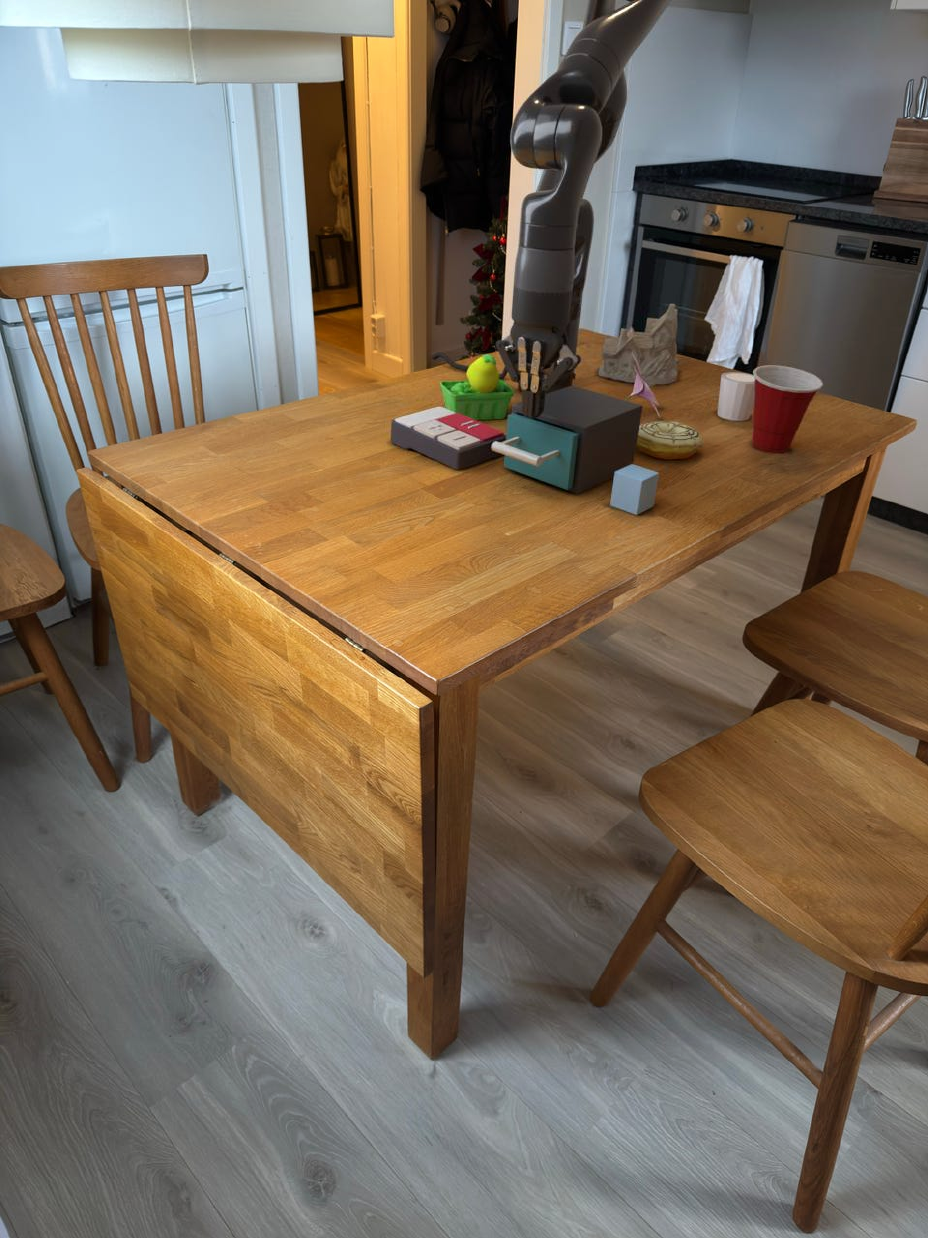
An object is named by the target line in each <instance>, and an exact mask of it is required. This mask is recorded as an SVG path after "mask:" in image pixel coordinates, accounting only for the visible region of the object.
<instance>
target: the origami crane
mask: <svg viewBox="0 0 928 1238" xmlns="http://www.w3.org/2000/svg"><path fill="white" fill-rule="evenodd" d="M632 354H633V353H632ZM633 356H634V355H633ZM634 358H635V357H634ZM635 361H636V363H637V366H638V371H639V375H638V373H637V370H636V368H635V367H634V366H633V367H634V369H635V371H636V373H637V376H636V381H635V383H634V386H633V390H632V393H630V394H629V396H627V397H626V398H625V399H624V400H625V401H628V400H630V398H632V397H633V396H636V397H639V398H642V399H644V400H646V401H647V402H649V403H650V404H651V405H652V407H653V408H654V410H655V411H656V413H657V416H658V417H659V418H661V415H660V414H659V411H658V408H657V407H656V405H657V406H658V407H659V408H661V406H660V404H659V401H658V400H657V398H656V396H655V393H654V392H653V390H652V389H650V388H654V386H656V384H655V383H654V384H646V383H645V382H644V381H643V380H642V378H641V370H640V367H639V364H638V362H637V360H636V358H635ZM651 382H652V381H651ZM655 404H656V405H655Z"/></svg>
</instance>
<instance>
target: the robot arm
mask: <svg viewBox="0 0 928 1238" xmlns="http://www.w3.org/2000/svg"><path fill="white" fill-rule="evenodd" d="M623 1H625V2H627V4H624V5H623V6H621V7H619V8H616V2H617V1H616V0H588V1H587V6H586V11H585V16H584V20H583V26H582V30H580V31H579V33H578V34H577V35H576V36H575V38H574V39H573V40H572V42H571V43H570V46H569V47H568V49H567V51H566V53H565V55H564V57H563V58H562V61H561V62H560V64H559V66H558V68H557V70H556V71H555V72H554V73H553V74H551V75H550V76H549V77H548V78H546V79H545V80H544V81H543V83H541V84H540V86H538V87H537V88H536V89H535V90H534V91H533V92H531V94H530V95H529V96H528V97H527V98H526V100H524V101H523V103H522V104H521V106H520V107H519V109H518V110H517V112H516V114H515V117H514V119H513V121H512V124H511V129H510V136H509V137H510V139H509V142H510V149H511V152H512V155H513V157H514V159H515V160H516V161H517V162H518V163H519V164H520V165H521V166H523V167H525V168H529V169H535V170H543V171H542V174H541V176H540V179H539V181H538V184H537V187H536V190H535V191H534V192H530V193H528V194H526V196H524V198H523V200H522V202H521V208H520V220H519V234H518V247H517V252H516V257H515V263H514V275H513V290H512V303H511V315H510V316H511V319H512V321H513V324H512V326H511V328H510V332H509V334H508V335H506V337H504V338H502V339H499V340H497V341H496V342H495V348H496V349H497V352H498V354H499V356H500V358H501V361H502V362H503V365H504V367H503V370H502V372H501V373H499V380H503V379H505V378H506V377H507V375H508V376H509V378H510V380H511V381H512V382H513V383H515V382H516V383H517V391H518V392H521V402H522V405H521V408H522V411H523V416H525V417H528V418H531V419H535V418H538V417H540V415H541V414H543V411H544V405H545V404H544V403H545V394H548V393H551V392H554V391H557V390H560V389H563V388H566V387H569V386H572V385H573V386H574V381H576V377H577V374H576V373H575V369H577V367H578V365H580V363H581V362H582V358H581V356H580V354H577V350H578V349H577V348H578V342H579V341H578V340H579V333H580V332H579V331H580V322H581V311H582V303H583V296H584V295H583V294H584V290H585V289H584V288H585V286H586V281H587V275H588V274H587V273H588V266H589V260H590V254H591V248H592V242H593V235H594V227H595V215H594V213H595V212H594V208H593V206H592V204H591V202H590V201H589V200H588V199H586V198H584V195H585V192H586V188H587V185H588V182H589V180H590V176H591V174H592V171H593V168H594V166H595V164H596V163H597V162H598V161H599V160H600V159H601V158H602V157H603V156H604V155H605V154H606V153H607V152H608V150H609V148H610V147H611V146H612V144H613V143H614V140H615V138H616V136H617V133H618V130H619V127H620V124H621V121H622V118H623V115H624V113H625V109H626V106H627V102H628V85H627V79H626V74H625V68H626V66H627V65H628V63H629V61H630V59H631V58H632V57H633V55H634V54H635V53H636V51H637V50H638V48H639V47H640V46H641V44H642V43H643V42H644V40H645V39H646V38H647V36H648V35H649V34H650V33H651V31H652V30H653V28H654V27H655V26H656V25H657V23H658V21H659V20H660V18H661V17H662V16H663V15H664V13H665V11H666V10H667V8H669V7H670V4H671V2H672V1H673V0H623ZM438 358H442V359H443V360H444V361H445V362H446V363H447V364H448V365H449V366H451V367H452V368H454V369H456V370H460V371H465V372H467V370H468V368H469V366H470V365H465V364H461V363H458V362H455V361H454V360H452V359H451V358H450V357H449V356H448V355H447V354H445V353H444V352H442V351H437V352H435V353H434V354H433V355H432V356H431V357H430V360H437V359H438Z"/></svg>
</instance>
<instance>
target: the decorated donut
mask: <svg viewBox="0 0 928 1238" xmlns="http://www.w3.org/2000/svg"><path fill="white" fill-rule="evenodd" d="M703 446H704V439H703V437H702V435H701V433H699V432H698V430H696V429H694V428H693V427H691V426H690V425H687V424H685V423H682V422H678V421H661V420H660V421H659V420H657V421H651V422H646V423H643V424H640V426H639V433H638V439H637V446H636V447H637V448H638V449H639V450H640V452H642V453H644V454H646V455H648V456H650V457H652V458H657V459H662V460H668V461H670V460H684V459H687V458H690V457H692V456H693V455H694V454H695V453H697V452H698V451H699V449H701V448H703Z"/></svg>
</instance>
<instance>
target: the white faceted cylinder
mask: <svg viewBox="0 0 928 1238" xmlns="http://www.w3.org/2000/svg"><path fill="white" fill-rule="evenodd" d="M720 376H721V377H720V383H719V385H720V386H719V395H718V404H717V416H718V417H719V418H722V419H725V420H727V421H734V422H745V421H748V420H749V419H750V417H751V413H752V410H753V409H754V398H755V391H754V389H755V378H754V374H750V373H746V372H738V371H731V372H730V371H729V372H724V373H722V374H721V375H720Z"/></svg>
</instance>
